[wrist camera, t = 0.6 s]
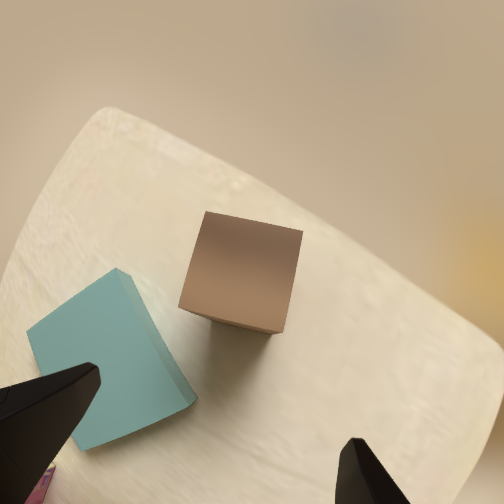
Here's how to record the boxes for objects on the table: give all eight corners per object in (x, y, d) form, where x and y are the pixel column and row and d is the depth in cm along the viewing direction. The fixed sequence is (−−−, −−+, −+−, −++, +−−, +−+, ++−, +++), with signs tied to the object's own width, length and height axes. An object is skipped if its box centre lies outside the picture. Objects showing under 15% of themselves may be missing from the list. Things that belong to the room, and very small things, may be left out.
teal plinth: (97, 442, 19) (81, 451, 16) (44, 333, 22) (26, 331, 19) (197, 398, 21) (189, 406, 18) (130, 275, 24) (115, 267, 21)
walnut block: (272, 334, 22) (282, 332, 13) (211, 320, 23) (177, 307, 13) (285, 274, 23) (303, 231, 14) (226, 262, 24) (205, 211, 14)
